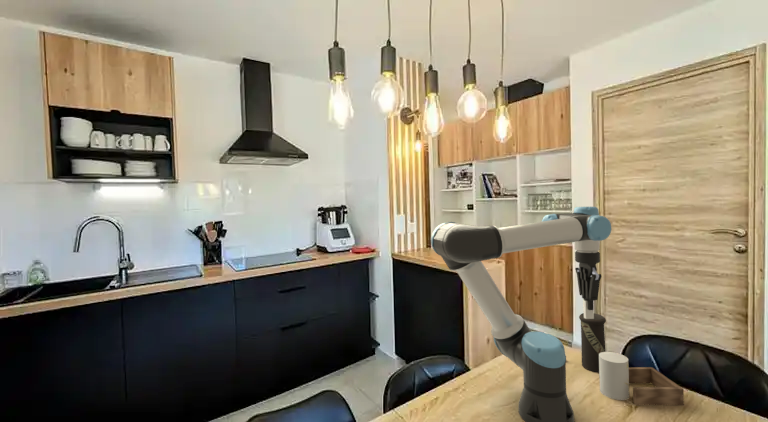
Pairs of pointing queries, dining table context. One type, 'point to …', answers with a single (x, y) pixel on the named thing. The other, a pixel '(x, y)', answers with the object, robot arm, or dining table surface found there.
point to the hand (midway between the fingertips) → (588, 318)
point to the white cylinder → (614, 375)
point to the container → (592, 341)
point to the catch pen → (654, 388)
